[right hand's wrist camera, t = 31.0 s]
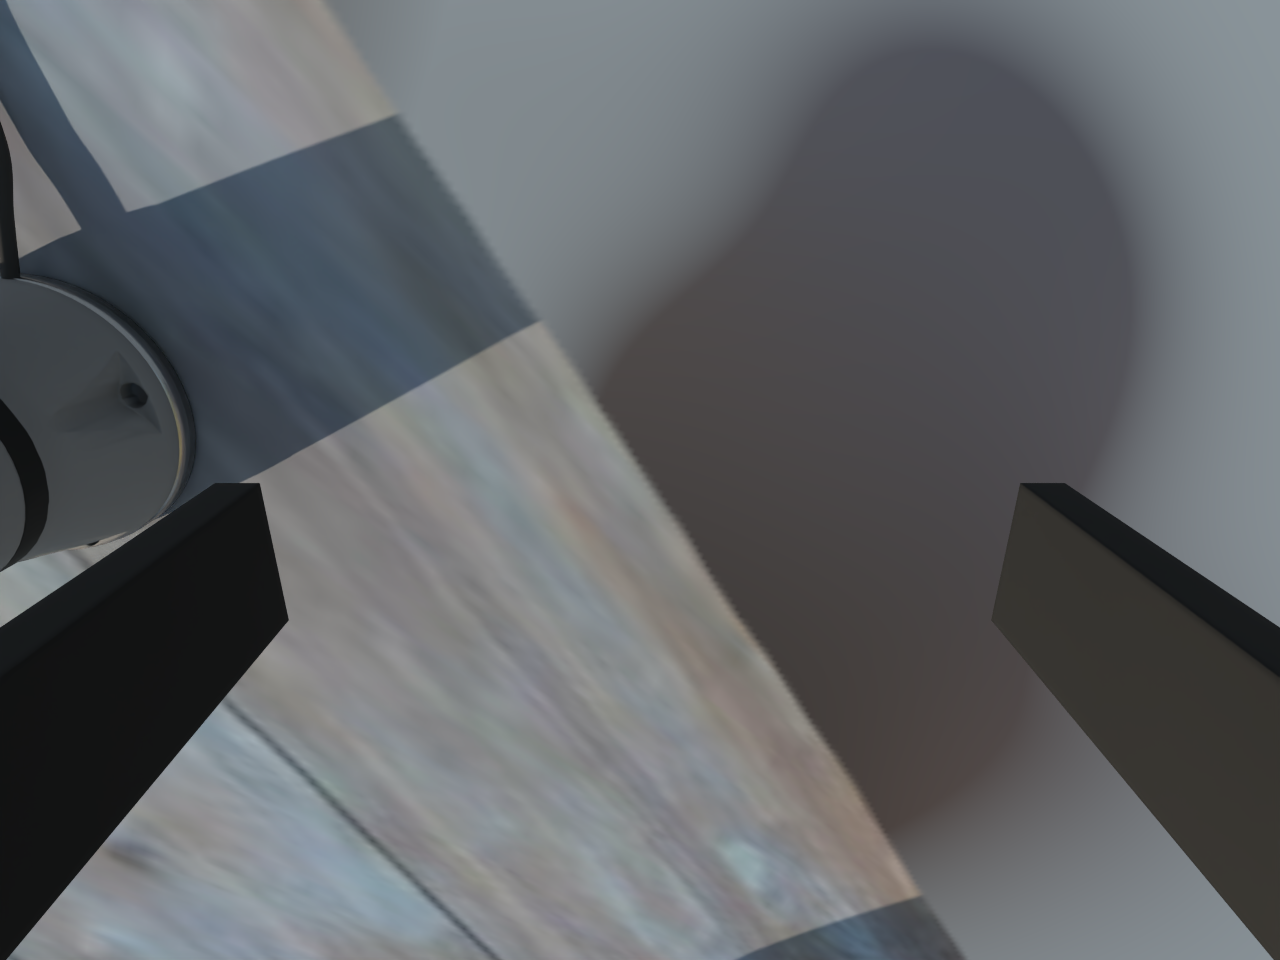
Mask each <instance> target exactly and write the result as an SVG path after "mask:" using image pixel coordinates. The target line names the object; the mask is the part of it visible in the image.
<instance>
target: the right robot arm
mask: <svg viewBox="0 0 1280 960" xmlns="http://www.w3.org/2000/svg"><path fill="white" fill-rule="evenodd" d="M0 273H1V274H0V572H1V571H3V570H4V569H6V568H8V567H10V566H12V565H13V564H15V563H17V562H20V561H25V560H29V559H32V558H36V557H39V556H43V555H48V554H52V553H56V552H60V551H64V550H75V549H83V548H88V547H94V546H99V545H102V544H106V543H109V542H112V541H114V540H117V539H120V538H123V537H125V536H127V535H130V534H132V533H134V532H135V531H137V530H139V529H141V528H142V527H144V526H145V525H147V524H148V523H150V522H151V521H153V520H154V519H156V518H157V517H159V516H160V515H161V514H162V513H164V512H165V511H166V510H167V509H168V508H169V507H170V506H171V505H172V504H173V503H174V502H175V501H176V500H177V498H178V497H179V496H180V494H181V493H182V491H183V489H184V488H185V486H186V484H187V481H188V479H189V477H190V474H191V470H192V467H193V462H194V457H195V445H196V440H195V427H194V420H193V415H192V412H191V408H190V404H189V401H188V399H187V396H186V393H185V391H184V388H183V386H182V384H181V382H180V380H179V378H178V376H177V374H176V373H175V371H174V369H173V367H172V366H171V364H170V363H169V361H168V360H167V358H166V357H165V355H164V354H163V353H162V352H161V350H160V349H159V348H158V347H157V345H156V344H155V343H154V342H153V341H152V340H151V339H150V337H149V336H148V335H147V334H146V333H145V332H144V331H143V330H142V329H141V328H140V327H139V326H137V325H136V324H135V323H134V322H133V321H132V320H131V319H129V318H128V317H127V316H126V315H124V314H123V313H122V312H121V311H119V310H118V309H116V308H115V307H113V306H112V305H110V304H109V303H107V302H106V301H104V300H102V299H100V298H99V297H97V296H95V295H93V294H92V293H89V292H87V291H85V290H83V289H81V288H79V287H76V286H73V285H71V284H68V283H65V282H62V281H59V280H55V279H51V278H48V277H42V276H37V275H29V274H20V268H19V259H18V249H17V240H16V230H15V220H14V208H13V173H12V163H11V157H10V152H9V148H8V144H7V141H6V137H5V134H4V131H3V128H2V125H1V122H0ZM288 620H289V619H288V615H287V610H286V605H285V600H284V596H283V591H282V586H281V582H280V577H279V572H278V567H277V563H276V558H275V553H274V549H273V544H272V539H271V534H270V530H269V525H268V520H267V516H266V511H265V506H264V501H263V497H262V492H261V487H260V483H215V484H213V485H212V486H210V487H209V488H207V489H206V490H204V491H203V492H201V493H200V494H198V495H197V496H195V497H194V498H192V499H191V500H189V501H188V502H187V503H185V504H184V505H182V506H181V507H179V508H178V509H176V510H175V511H173V512H172V513H170V514H169V515H167V516H166V517H164V518H163V519H161V520H160V521H158V522H157V523H155V524H154V525H152V526H151V527H149V528H148V529H146V530H145V531H143V532H142V533H140V534H139V535H137V536H136V537H134V538H133V539H131V540H130V541H128V542H127V543H125V544H124V545H122V546H121V547H120V548H118V549H117V550H115V551H114V552H112V553H111V554H109V555H108V556H106V557H105V558H103V559H102V560H100V561H99V562H97V563H96V564H94V565H93V566H91V567H90V568H88V569H87V570H85V571H84V572H82V573H81V574H79V575H78V576H76V577H75V578H73V579H72V580H70V581H69V582H67V583H66V584H64V585H63V586H61V587H60V588H58V589H57V590H55V591H54V592H52V593H51V594H50V595H48V596H47V597H45V598H44V599H42V600H41V601H39V602H38V603H36V604H35V605H33V606H32V607H30V608H29V609H27V610H26V611H24V612H23V613H21V614H20V615H18V616H17V617H15V618H14V619H12V620H11V621H9V622H8V623H6V624H5V625H3V626H2V627H0V960H6V959H7V958H8V957H9V956H10V954H11V953H12V952H13V951H14V950H15V948H16V947H17V946H18V945H19V944H20V942H21V941H22V940H23V939H24V938H25V936H26V935H27V934H28V933H29V932H30V930H31V929H32V928H33V927H34V926H35V924H36V923H37V922H38V921H39V920H40V918H41V917H42V916H43V915H44V914H45V912H46V911H47V910H48V909H49V908H50V906H51V905H52V904H53V903H54V902H55V900H56V899H57V898H58V897H59V896H60V894H61V893H62V892H63V891H64V890H65V888H66V887H67V886H68V885H69V884H70V882H71V881H72V880H73V879H74V878H75V876H76V875H77V874H78V873H79V872H80V870H81V869H82V868H83V867H84V866H85V864H86V863H87V862H88V861H89V860H90V858H91V857H92V856H93V855H94V854H95V852H96V851H97V850H98V849H99V848H100V846H101V845H102V844H103V843H104V842H105V840H106V839H107V838H108V837H109V836H110V834H111V833H112V832H113V831H114V830H115V828H116V827H117V826H118V825H119V824H120V822H121V821H122V820H123V819H124V817H125V816H126V815H127V814H128V813H129V811H130V810H131V809H132V808H133V807H134V805H135V804H136V803H137V802H138V801H139V799H140V798H141V797H142V796H143V795H144V793H145V792H146V791H147V790H148V789H149V787H150V786H151V785H152V784H153V783H154V781H155V780H156V779H157V778H158V777H159V775H160V774H161V773H162V772H163V771H164V769H165V768H166V767H167V766H168V765H169V763H170V762H171V761H172V760H173V759H174V757H175V756H176V755H177V754H178V753H179V751H180V750H181V749H182V748H183V747H184V745H185V744H186V743H187V742H188V741H189V739H190V738H191V737H192V736H193V735H194V733H195V732H196V731H197V730H198V729H199V727H200V726H201V725H202V724H203V723H204V721H205V720H206V719H207V718H208V717H209V715H210V714H211V713H212V712H213V711H214V709H215V708H216V707H217V706H218V705H219V703H220V702H221V701H222V700H223V699H224V697H225V696H226V695H227V694H228V693H229V691H230V690H231V689H232V688H233V687H234V685H235V684H236V683H237V682H238V680H239V679H240V678H241V677H242V676H243V674H244V673H245V672H246V671H247V670H248V668H249V667H250V666H251V665H252V664H253V662H254V661H255V660H256V659H257V658H258V656H259V655H260V654H261V653H262V652H263V650H264V649H265V648H266V647H267V646H268V644H269V643H270V642H271V641H272V640H273V638H274V637H275V636H276V635H277V634H278V632H279V631H280V630H281V629H282V628H283V626H284V625H285V624H286V623H287V622H288ZM991 620H992V622H993V623H994V624H995V625H996V626H997V628H998V629H999V630H1000V631H1001V632H1002V633H1003V635H1004V636H1005V637H1006V638H1007V640H1008V641H1009V642H1010V643H1011V644H1012V646H1013V647H1014V648H1015V649H1016V650H1017V652H1018V653H1019V654H1020V655H1021V656H1022V658H1023V659H1024V660H1025V661H1026V662H1027V664H1028V665H1029V666H1030V667H1031V668H1032V670H1033V671H1034V672H1035V673H1036V674H1037V676H1038V677H1039V678H1040V679H1041V680H1042V682H1043V683H1044V684H1045V685H1046V687H1047V688H1048V689H1049V690H1050V691H1051V692H1052V694H1053V695H1054V696H1055V697H1056V698H1057V700H1058V701H1059V702H1060V703H1061V705H1062V706H1063V707H1064V708H1065V709H1066V710H1067V712H1068V713H1069V714H1070V715H1071V717H1072V718H1073V719H1074V720H1075V721H1076V723H1077V724H1078V725H1079V726H1080V727H1081V729H1082V730H1083V731H1084V732H1085V733H1086V735H1087V736H1088V737H1089V738H1090V739H1091V741H1092V742H1093V743H1094V744H1095V745H1096V747H1097V748H1098V749H1099V750H1100V751H1101V753H1102V754H1103V755H1104V756H1105V757H1106V759H1107V760H1108V761H1109V762H1110V763H1111V765H1112V766H1113V767H1114V768H1115V769H1116V771H1117V772H1118V773H1119V774H1120V775H1121V777H1122V778H1123V779H1124V780H1125V781H1126V783H1127V784H1128V785H1129V786H1130V787H1131V789H1132V790H1133V791H1134V792H1135V793H1136V795H1137V796H1138V797H1139V798H1140V799H1141V801H1142V802H1143V803H1144V804H1145V805H1146V807H1147V808H1148V809H1149V810H1150V811H1151V813H1152V814H1153V815H1154V816H1155V817H1156V819H1157V820H1158V821H1159V822H1160V824H1161V825H1162V826H1163V827H1164V828H1165V829H1166V831H1167V832H1168V833H1169V834H1170V836H1171V837H1172V838H1173V839H1174V840H1175V841H1176V843H1177V844H1178V845H1179V846H1180V848H1181V849H1182V850H1183V851H1184V852H1185V854H1186V855H1187V856H1188V857H1189V858H1190V860H1191V861H1192V862H1193V863H1194V864H1195V866H1196V867H1197V868H1198V869H1199V870H1200V872H1201V873H1202V874H1203V875H1204V876H1205V878H1206V879H1207V880H1208V881H1209V882H1210V884H1211V885H1212V886H1213V887H1214V888H1215V890H1216V891H1217V892H1218V893H1219V894H1220V896H1221V897H1222V898H1223V899H1224V900H1225V902H1226V903H1227V904H1228V905H1229V906H1230V908H1231V909H1232V910H1233V911H1234V912H1235V914H1236V915H1237V916H1238V917H1239V918H1240V920H1241V921H1242V922H1243V923H1244V924H1245V926H1246V927H1247V928H1248V929H1249V930H1250V932H1251V933H1252V934H1253V935H1254V936H1255V938H1256V939H1257V940H1258V941H1259V942H1260V944H1261V945H1262V946H1263V947H1264V948H1265V950H1266V951H1267V952H1268V953H1269V954H1270V956H1271V957H1272V958H1273V959H1274V960H1280V627H1278V626H1277V625H1275V624H1274V623H1272V622H1271V621H1269V620H1268V619H1266V618H1265V617H1263V616H1262V615H1260V614H1259V613H1257V612H1256V611H1254V610H1253V609H1251V608H1250V607H1248V606H1247V605H1245V604H1244V603H1242V602H1241V601H1239V600H1238V599H1236V598H1235V597H1233V596H1232V595H1230V594H1229V593H1228V592H1226V591H1224V590H1223V589H1221V588H1220V587H1219V586H1217V585H1216V584H1214V583H1213V582H1211V581H1210V580H1208V579H1207V578H1205V577H1204V576H1202V575H1201V574H1199V573H1198V572H1196V571H1195V570H1193V569H1192V568H1190V567H1189V566H1187V565H1186V564H1184V563H1183V562H1181V561H1180V560H1178V559H1177V558H1175V557H1174V556H1172V555H1171V554H1169V553H1168V552H1166V551H1165V550H1163V549H1162V548H1160V547H1159V546H1158V545H1156V544H1155V543H1153V542H1152V541H1150V540H1149V539H1147V538H1146V537H1144V536H1143V535H1141V534H1140V533H1138V532H1137V531H1135V530H1134V529H1132V528H1131V527H1129V526H1128V525H1126V524H1125V523H1123V522H1122V521H1120V520H1119V519H1117V518H1116V517H1114V516H1113V515H1111V514H1110V513H1108V512H1107V511H1105V510H1104V509H1102V508H1101V507H1099V506H1098V505H1096V504H1095V503H1093V502H1092V501H1091V500H1089V499H1087V498H1086V497H1085V496H1083V495H1082V494H1080V493H1079V492H1077V491H1076V490H1074V489H1073V488H1071V487H1070V486H1068V485H1067V484H1065V483H1020V487H1019V492H1018V497H1017V501H1016V506H1015V511H1014V516H1013V520H1012V525H1011V530H1010V534H1009V539H1008V544H1007V549H1006V554H1005V558H1004V563H1003V568H1002V572H1001V577H1000V582H999V586H998V591H997V596H996V600H995V605H994V610H993V615H992V619H991Z"/></svg>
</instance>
